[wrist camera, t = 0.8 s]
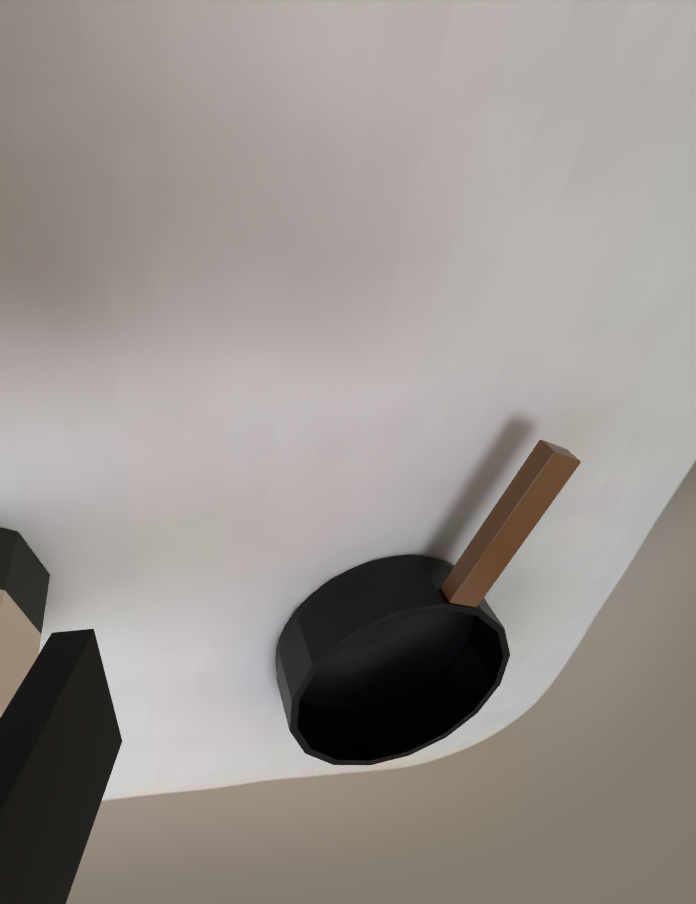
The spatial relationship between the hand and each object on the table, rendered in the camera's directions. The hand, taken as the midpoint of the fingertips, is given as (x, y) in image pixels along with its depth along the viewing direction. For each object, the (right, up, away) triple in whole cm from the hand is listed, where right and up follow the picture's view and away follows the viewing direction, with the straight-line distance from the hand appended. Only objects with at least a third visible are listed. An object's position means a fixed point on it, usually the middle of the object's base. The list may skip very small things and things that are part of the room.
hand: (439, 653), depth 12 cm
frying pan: (+3, -5, +29) cm, 30 cm away
